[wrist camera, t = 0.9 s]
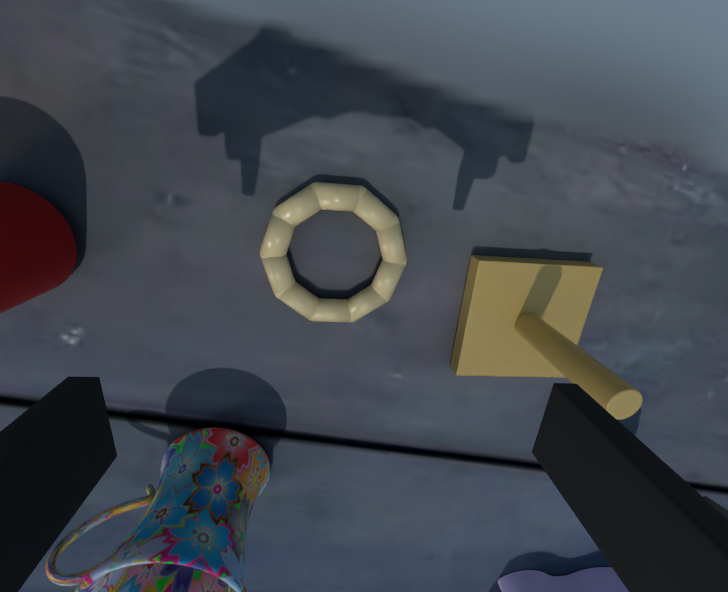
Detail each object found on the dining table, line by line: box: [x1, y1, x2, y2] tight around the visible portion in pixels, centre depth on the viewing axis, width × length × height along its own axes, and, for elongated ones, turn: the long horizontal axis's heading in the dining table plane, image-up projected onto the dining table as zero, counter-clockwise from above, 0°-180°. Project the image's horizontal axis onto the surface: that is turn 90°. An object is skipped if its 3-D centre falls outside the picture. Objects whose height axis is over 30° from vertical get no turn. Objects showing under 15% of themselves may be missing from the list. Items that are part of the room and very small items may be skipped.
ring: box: [260, 182, 407, 322], centre depth 23 cm, size 9×10×2 cm
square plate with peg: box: [450, 255, 643, 420], centre depth 21 cm, size 9×9×10 cm
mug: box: [46, 428, 270, 592], centre depth 24 cm, size 12×9×11 cm
